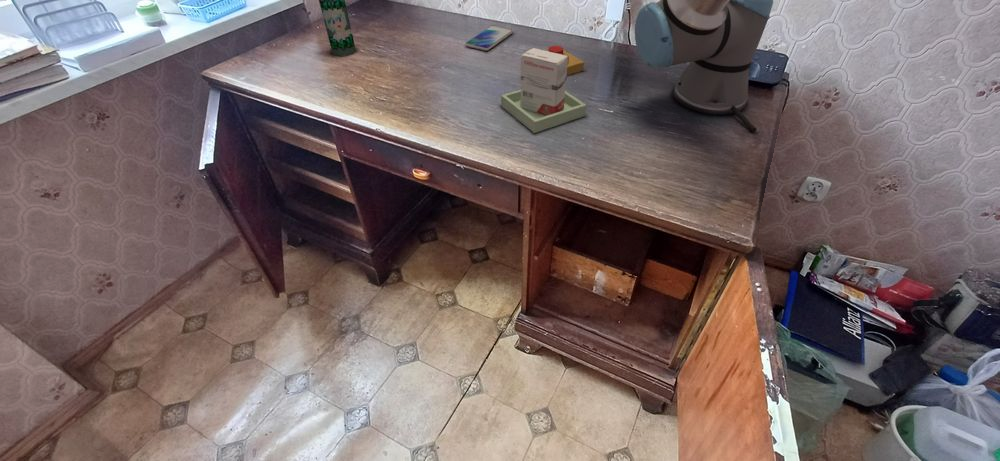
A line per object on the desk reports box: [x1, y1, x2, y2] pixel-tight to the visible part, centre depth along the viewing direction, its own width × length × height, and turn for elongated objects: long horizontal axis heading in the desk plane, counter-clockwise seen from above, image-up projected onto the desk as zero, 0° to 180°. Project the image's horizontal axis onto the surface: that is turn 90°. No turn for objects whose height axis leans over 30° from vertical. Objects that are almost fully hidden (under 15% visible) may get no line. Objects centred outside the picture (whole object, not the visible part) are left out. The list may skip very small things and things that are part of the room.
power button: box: [547, 45, 564, 55], centre depth 113 cm, size 4×4×2 cm
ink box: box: [520, 47, 568, 116], centre depth 97 cm, size 9×5×12 cm, turn 58°
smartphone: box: [465, 25, 514, 52], centre depth 129 cm, size 7×1×15 cm
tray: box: [500, 89, 587, 134], centre depth 100 cm, size 13×13×3 cm
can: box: [318, 0, 357, 57], centre depth 120 cm, size 6×6×15 cm
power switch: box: [544, 49, 585, 76], centre depth 114 cm, size 8×12×4 cm, turn 121°
